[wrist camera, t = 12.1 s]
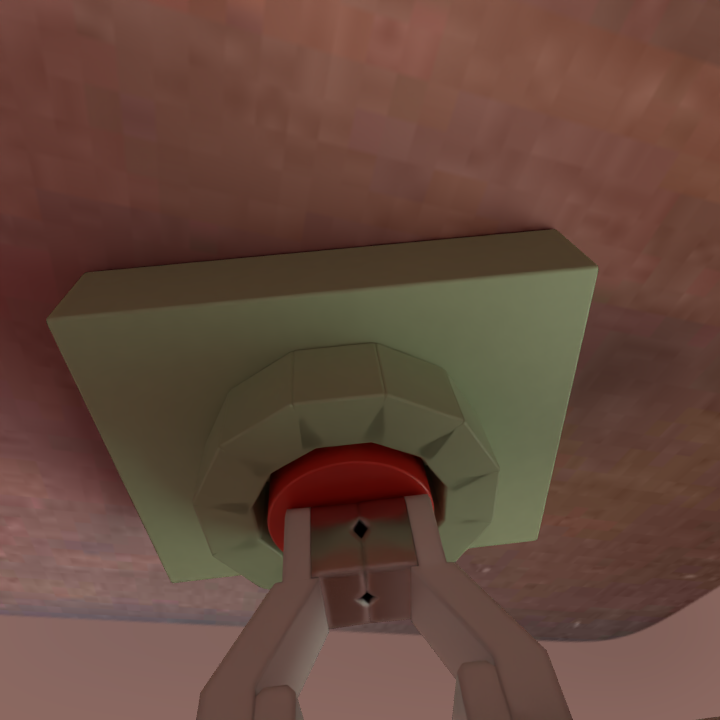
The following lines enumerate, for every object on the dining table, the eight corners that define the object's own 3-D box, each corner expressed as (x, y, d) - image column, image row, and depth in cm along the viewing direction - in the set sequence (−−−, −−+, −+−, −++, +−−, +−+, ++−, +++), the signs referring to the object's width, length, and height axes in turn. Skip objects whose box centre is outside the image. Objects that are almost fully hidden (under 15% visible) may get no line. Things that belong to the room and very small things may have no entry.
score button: (283, 518, 13) (280, 579, 12) (259, 414, 11) (253, 473, 10) (418, 502, 13) (432, 562, 12) (420, 397, 11) (436, 453, 10)
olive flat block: (185, 522, 17) (155, 648, 13) (83, 271, 12) (-4, 374, 8) (513, 485, 17) (562, 597, 14) (556, 227, 12) (651, 309, 9)
